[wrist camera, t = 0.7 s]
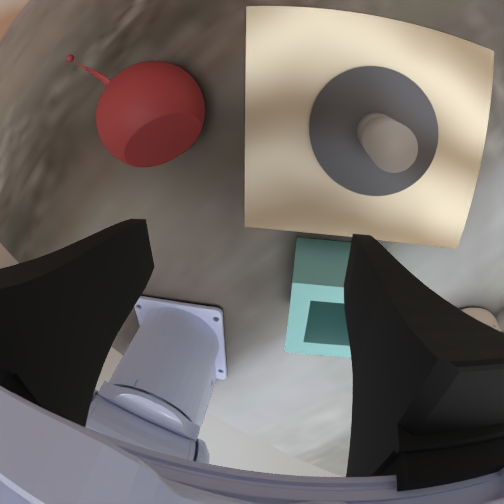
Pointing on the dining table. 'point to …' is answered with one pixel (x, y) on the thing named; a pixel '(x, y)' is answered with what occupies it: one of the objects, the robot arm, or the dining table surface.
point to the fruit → (149, 113)
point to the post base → (285, 106)
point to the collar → (318, 299)
